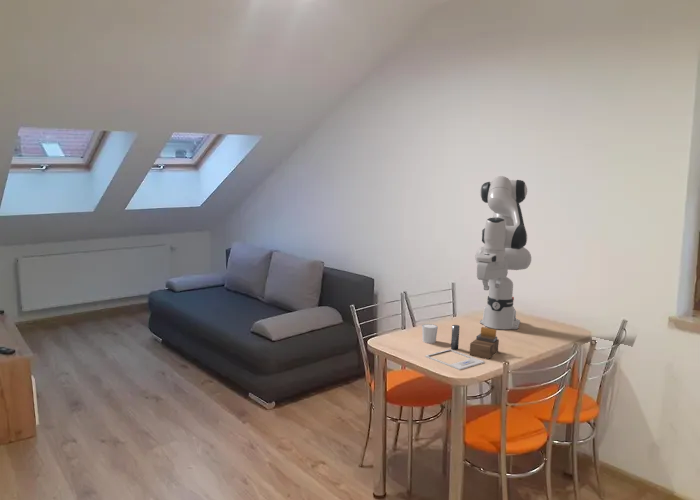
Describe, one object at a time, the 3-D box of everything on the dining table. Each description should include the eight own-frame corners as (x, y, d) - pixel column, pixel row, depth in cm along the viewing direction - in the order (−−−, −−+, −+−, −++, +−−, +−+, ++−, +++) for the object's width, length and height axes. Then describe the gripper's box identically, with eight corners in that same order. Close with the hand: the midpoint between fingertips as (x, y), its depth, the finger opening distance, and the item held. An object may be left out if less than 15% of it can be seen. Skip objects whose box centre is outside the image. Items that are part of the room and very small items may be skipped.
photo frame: (459, 368, 207) (425, 355, 221) (459, 371, 207) (425, 357, 221) (484, 361, 216) (449, 348, 230) (484, 363, 216) (449, 351, 230)
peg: (452, 347, 234) (453, 324, 233) (459, 348, 232) (460, 325, 231) (449, 349, 232) (451, 326, 230) (456, 350, 230) (458, 327, 229)
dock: (479, 347, 235) (480, 336, 234) (498, 351, 230) (498, 339, 230) (469, 355, 224) (470, 343, 224) (488, 359, 220) (489, 347, 220)
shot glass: (437, 340, 244) (438, 324, 243) (436, 344, 237) (436, 328, 236) (422, 338, 246) (423, 323, 245) (420, 342, 239) (420, 327, 238)
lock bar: (480, 336, 233) (480, 326, 232) (497, 339, 229) (497, 329, 228) (476, 339, 229) (476, 329, 228) (493, 342, 225) (494, 332, 224)
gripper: (498, 254, 242) (497, 285, 243) (474, 257, 227) (473, 290, 228) (512, 255, 237) (510, 287, 239) (488, 258, 222) (486, 292, 224)
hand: (491, 289), depth 233 cm, fingers open, 8 cm apart
